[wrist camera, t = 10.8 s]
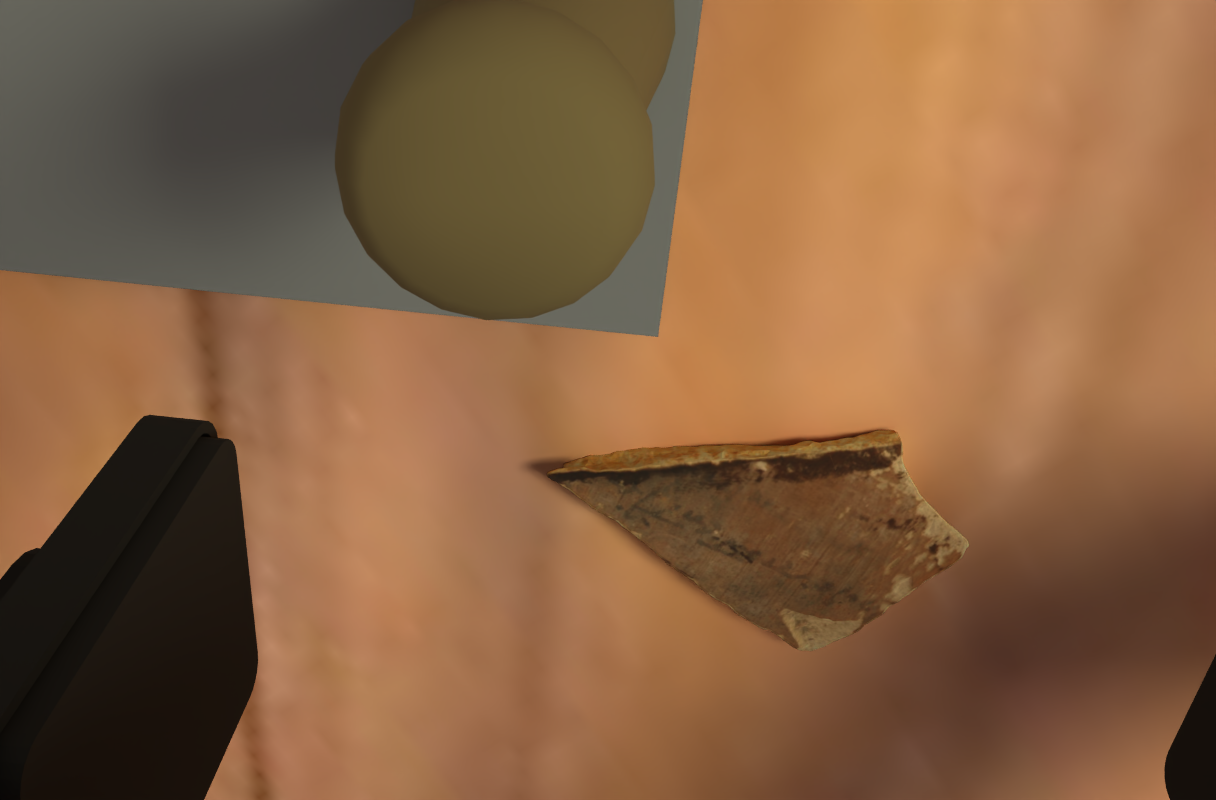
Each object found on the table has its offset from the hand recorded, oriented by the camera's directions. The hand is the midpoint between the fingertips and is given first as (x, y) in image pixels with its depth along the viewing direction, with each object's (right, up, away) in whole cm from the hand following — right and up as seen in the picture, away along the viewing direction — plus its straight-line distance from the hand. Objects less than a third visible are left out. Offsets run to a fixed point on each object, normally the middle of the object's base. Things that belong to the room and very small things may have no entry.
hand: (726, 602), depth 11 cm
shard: (+4, -2, +25) cm, 26 cm away
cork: (-3, +11, +16) cm, 20 cm away
